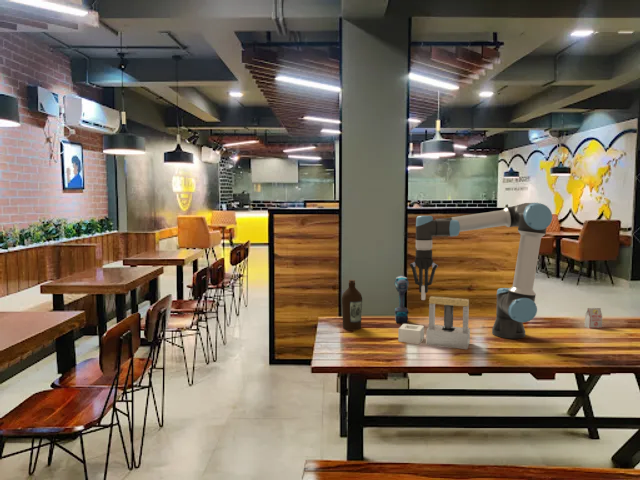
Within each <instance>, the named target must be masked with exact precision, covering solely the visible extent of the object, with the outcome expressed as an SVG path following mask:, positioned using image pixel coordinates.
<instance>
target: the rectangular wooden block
mask: <svg viewBox="0 0 640 480" xmlns="http://www.w3.org/2000/svg"><path fill="white" fill-rule="evenodd" d="M428 299H429V300H428V302H429V304H430V303H431V304H435V305H453V306H456V307H457V306H458V307H463V306H468V305H469V304H470V299H469V298H457V297H456V298H455V297H443V296H431V295H430V297H428ZM469 306H470V305H469Z"/></svg>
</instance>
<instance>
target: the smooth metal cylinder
mask: <svg viewBox="0 0 640 480" xmlns="http://www.w3.org/2000/svg"><path fill="white" fill-rule="evenodd" d="M443 305H444V304H443ZM443 311H444V312H443V313H444V314H443V326H444V330H448V331H453V327H454V305H444V308H443Z"/></svg>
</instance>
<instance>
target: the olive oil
mask: <svg viewBox="0 0 640 480" xmlns="http://www.w3.org/2000/svg"><path fill="white" fill-rule="evenodd" d="M362 307H363V296H362V294H361V292H360V291H359V290H358V288H356V280H355V279H349V280H348V287H347V289H346V290H345V291H344V292H343V293H342V296H341V311H342V314H341V315H342V328H343V329H344V330H347V331H357V330H361V328H362V318H363V317H362V310H363V308H362Z"/></svg>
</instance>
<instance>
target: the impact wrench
mask: <svg viewBox="0 0 640 480" xmlns="http://www.w3.org/2000/svg"><path fill="white" fill-rule="evenodd" d="M393 284H394V286H395V289H396V291H397V292H398V304H399V305H398V306H397V307H395V308H394V320H395V323H397V324H409V323H408V322H409V316H408V314H409V310H408V308H407V307H405V293H406V292H407V291H408V288H409V284H410V282H409V279H408V278H407V276H405V275H403V274H399V275H397V276H396V277H395V279H394V283H393Z"/></svg>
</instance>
